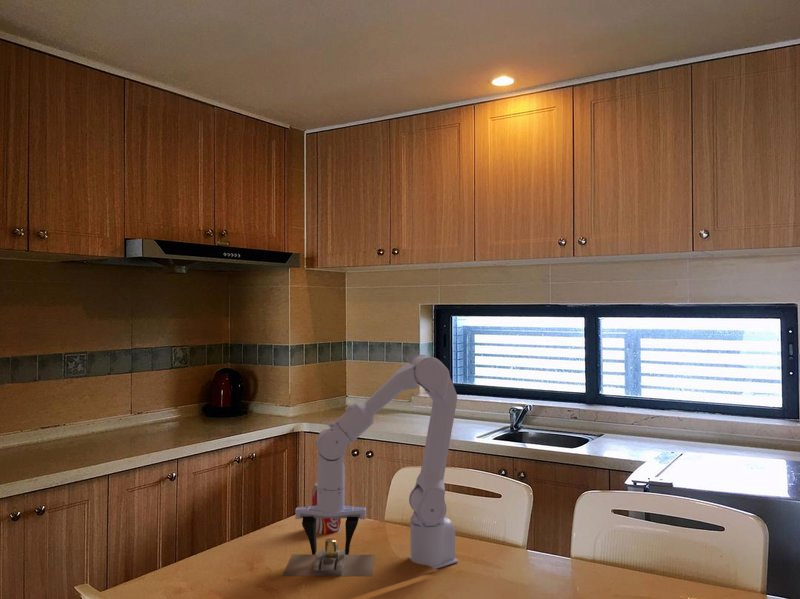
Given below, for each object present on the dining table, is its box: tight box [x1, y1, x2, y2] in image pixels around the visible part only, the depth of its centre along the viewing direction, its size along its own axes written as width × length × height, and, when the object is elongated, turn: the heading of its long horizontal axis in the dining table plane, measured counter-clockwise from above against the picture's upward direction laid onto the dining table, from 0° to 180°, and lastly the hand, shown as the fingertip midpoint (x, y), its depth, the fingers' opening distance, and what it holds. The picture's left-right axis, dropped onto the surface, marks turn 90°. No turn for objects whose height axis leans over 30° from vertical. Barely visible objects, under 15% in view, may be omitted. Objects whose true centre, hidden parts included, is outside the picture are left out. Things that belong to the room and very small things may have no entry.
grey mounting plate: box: [281, 544, 376, 577], centre depth 142 cm, size 18×12×4 cm, turn 89°
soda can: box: [311, 482, 342, 535], centre depth 165 cm, size 7×7×12 cm
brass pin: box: [324, 538, 338, 565], centre depth 142 cm, size 2×2×5 cm
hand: (330, 553), depth 142 cm, fingers open, 6 cm apart
